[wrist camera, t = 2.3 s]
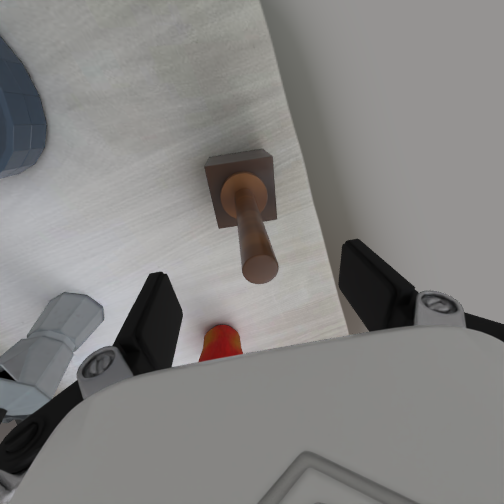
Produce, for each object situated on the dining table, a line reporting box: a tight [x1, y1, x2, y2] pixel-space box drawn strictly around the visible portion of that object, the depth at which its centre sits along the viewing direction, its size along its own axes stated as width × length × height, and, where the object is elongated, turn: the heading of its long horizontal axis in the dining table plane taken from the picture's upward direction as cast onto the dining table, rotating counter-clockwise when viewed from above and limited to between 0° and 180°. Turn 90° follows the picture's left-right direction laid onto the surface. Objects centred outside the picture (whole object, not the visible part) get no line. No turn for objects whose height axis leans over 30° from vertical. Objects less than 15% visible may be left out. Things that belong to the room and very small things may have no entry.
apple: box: [199, 325, 243, 362], centre depth 40 cm, size 9×8×12 cm
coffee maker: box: [0, 292, 104, 425], centre depth 31 cm, size 15×9×18 cm, turn 164°
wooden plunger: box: [220, 171, 278, 284], centre depth 18 cm, size 5×5×14 cm
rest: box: [205, 149, 277, 229], centre depth 27 cm, size 7×7×7 cm
